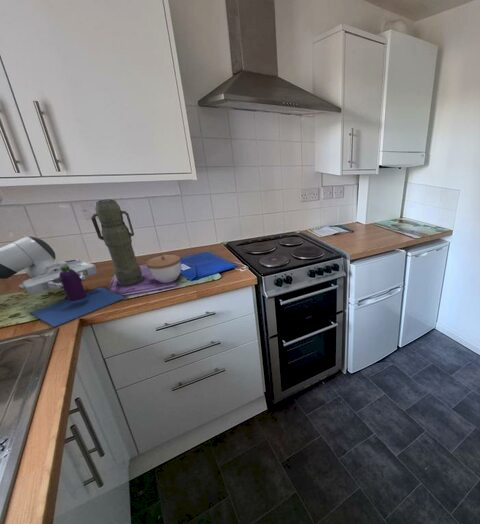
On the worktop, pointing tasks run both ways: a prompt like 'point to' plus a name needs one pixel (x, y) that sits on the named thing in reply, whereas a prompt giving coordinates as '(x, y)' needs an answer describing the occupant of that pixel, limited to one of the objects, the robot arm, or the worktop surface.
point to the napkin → (77, 307)
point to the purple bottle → (72, 284)
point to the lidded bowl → (164, 268)
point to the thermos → (118, 241)
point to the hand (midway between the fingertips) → (72, 282)
